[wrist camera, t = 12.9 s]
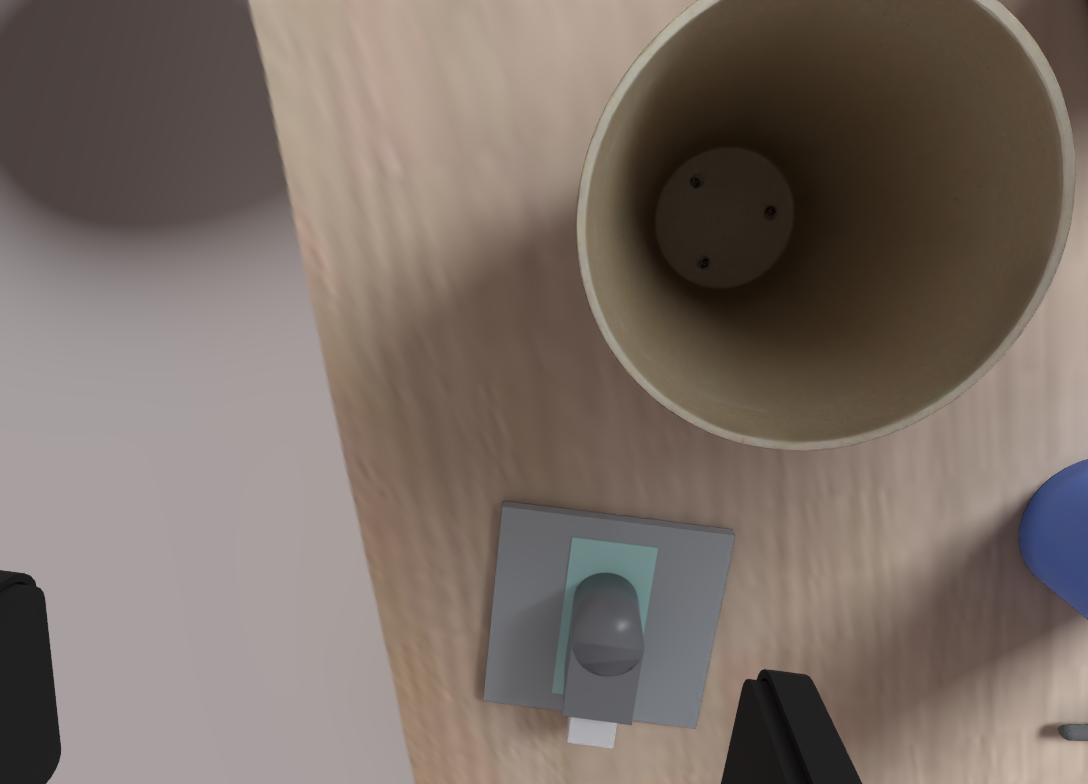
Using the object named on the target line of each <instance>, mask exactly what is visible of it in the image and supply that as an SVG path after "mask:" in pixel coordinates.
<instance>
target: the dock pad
mask: <svg viewBox="0 0 1088 784" xmlns="http://www.w3.org/2000/svg"><path fill="white" fill-rule="evenodd" d="M734 539H735V534H734V532H733V530H732V529H725V528H717V527H709V526H701V525H693V524H685V523H677V522H669V521H661V520H652V519H644V518H636V517H628V516H620V515H612V514H604V513H596V512H588V511H580V510H572V509H564V508H555V507H547V506H539V505H531V504H523V503H515V502H507V501H504V502H503V506H502V514H501V525H500V535H499V545H498V555H497V565H496V575H495V586H494V596H493V606H492V616H491V626H490V637H489V647H488V657H487V667H486V677H485V688H484V698H483V701H488V702H496V703H504V704H511V705H519V706H526V707H534V708H541V709H549V710H556V711H563V688H564V666H565V658H566V651H567V643H568V636H569V628H570V620H571V613H572V605H573V598H574V593H575V590H576V589H577V587H578V585H579V584H580V583H581V582H582V581H583V580H584V579H586V578H587V577H589V576H591V575H594V574H597V573H614V574H617V575H620V576H622V577H624V578H625V579H627V580H628V581H629V582H630V583H631V584H632V585H633V587H634V588H635V590H636V592H637V596H638V602H639V609H640V616H641V624H642V631H643V638H644V654H643V659H642V665H641V671H640V677H639V683H638V689H637V695H636V701H635V707H634V713H633V719H632V721H640V722H647V723H655V724H662V725H670V726H677V727H685V728H692V729H696V726H697V721H698V716H699V711H700V706H701V702H702V697H703V692H704V687H705V682H706V677H707V672H708V667H709V662H710V657H711V652H712V647H713V643H714V638H715V633H716V628H717V623H718V618H719V613H720V608H721V603H722V598H723V593H724V588H725V584H726V579H727V574H728V569H729V564H730V559H731V554H732V549H733V544H734Z"/></svg>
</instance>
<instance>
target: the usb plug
mask: <svg viewBox="0 0 1088 784" xmlns="http://www.w3.org/2000/svg"><path fill="white" fill-rule="evenodd" d="M643 654H644V638H643V631H642V624H641V616H640V609H639V602H638V596H637V592H636V590H635V588H634V587H633V585H632V584H631V583H630V582H629V581H628V580H627V579H625V578H624V577H622V576H620V575H617V574H614V573H597V574H594V575H591V576H589V577H587V578H586V579H584V580H583V581H582V582H581V583H580V584H579V585H578V587H577V589H576V590H575V593H574V598H573V605H572V613H571V620H570V628H569V636H568V643H567V651H566V658H565V666H564V688H563V711H562V716H566V717H568V736H567V743H574V744H582V745H589V746H597V747H604V748H612V749H613V747H614V741H615V735H616V728H617V723H619V724H627V725H632V719H633V713H634V707H635V701H636V695H637V689H638V683H639V677H640V671H641V665H642V659H643Z"/></svg>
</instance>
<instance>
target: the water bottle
mask: <svg viewBox="0 0 1088 784" xmlns="http://www.w3.org/2000/svg"><path fill="white" fill-rule="evenodd" d="M1019 545H1020V551H1021V555H1022V557H1023V559H1024V562H1025V564H1026V566H1027V567H1028V568H1029V570H1030V571H1031V572H1032V574H1033V575H1034V576H1035V577H1036V578H1038V579H1039V580H1040V581H1041V582H1042V583H1044V584H1045V585H1046V586H1047V587H1049V588H1050V589H1051V590H1052V591H1053V592H1055V593H1056V594H1057V595H1058V596H1060V597H1061V598H1062V599H1063V600H1065V601H1066V602H1067V603H1068V604H1069V605H1071V606H1072V607H1073V608H1074V609H1076V610H1077V611H1078V612H1079V613H1080V614H1082V615H1083V616H1084V617H1085V618H1087V619H1088V459H1087V460H1083V461H1081V462H1078V463H1076V464H1074V465H1071V466H1069V467H1067V468H1065V469H1064V470H1062V471H1061V472H1059V473H1058V474H1056V475H1054V476H1053V477H1052V478H1050V479H1049V480H1048V481H1047V482H1046V483H1045V484H1044V485H1043V486H1042V487H1041V488H1040V489H1039V490H1038V491H1037V493H1036V494H1035V495H1034V496H1033V498H1032V499H1031V500H1030V502H1029V504H1028V506H1027V508H1026V510H1025V512H1024V514H1023V517H1022V521H1021V524H1020V529H1019Z"/></svg>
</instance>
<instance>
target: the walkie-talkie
mask: <svg viewBox="0 0 1088 784" xmlns="http://www.w3.org/2000/svg"><path fill="white" fill-rule="evenodd" d="M1058 731H1059V733H1060V735H1061V736H1062V737H1063V738H1064V739H1067V740H1074V741H1088V725H1079V724H1067V725H1062V726H1060V727H1059V728H1058Z"/></svg>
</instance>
